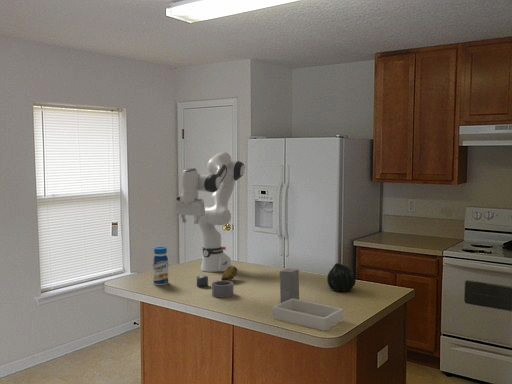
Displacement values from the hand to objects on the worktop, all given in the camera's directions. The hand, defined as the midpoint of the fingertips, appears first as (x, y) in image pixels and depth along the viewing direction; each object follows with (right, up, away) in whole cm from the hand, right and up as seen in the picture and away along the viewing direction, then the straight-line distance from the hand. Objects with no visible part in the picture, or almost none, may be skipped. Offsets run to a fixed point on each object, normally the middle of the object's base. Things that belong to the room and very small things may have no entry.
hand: (190, 223), depth 270 cm
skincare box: (+52, -36, -33) cm, 72 cm away
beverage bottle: (-16, -34, +2) cm, 38 cm away
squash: (+81, -35, -12) cm, 89 cm away
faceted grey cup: (+19, -35, -20) cm, 45 cm away
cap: (+7, -34, -3) cm, 35 cm away
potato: (+21, -33, +6) cm, 40 cm away
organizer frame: (+59, -38, -58) cm, 90 cm away
